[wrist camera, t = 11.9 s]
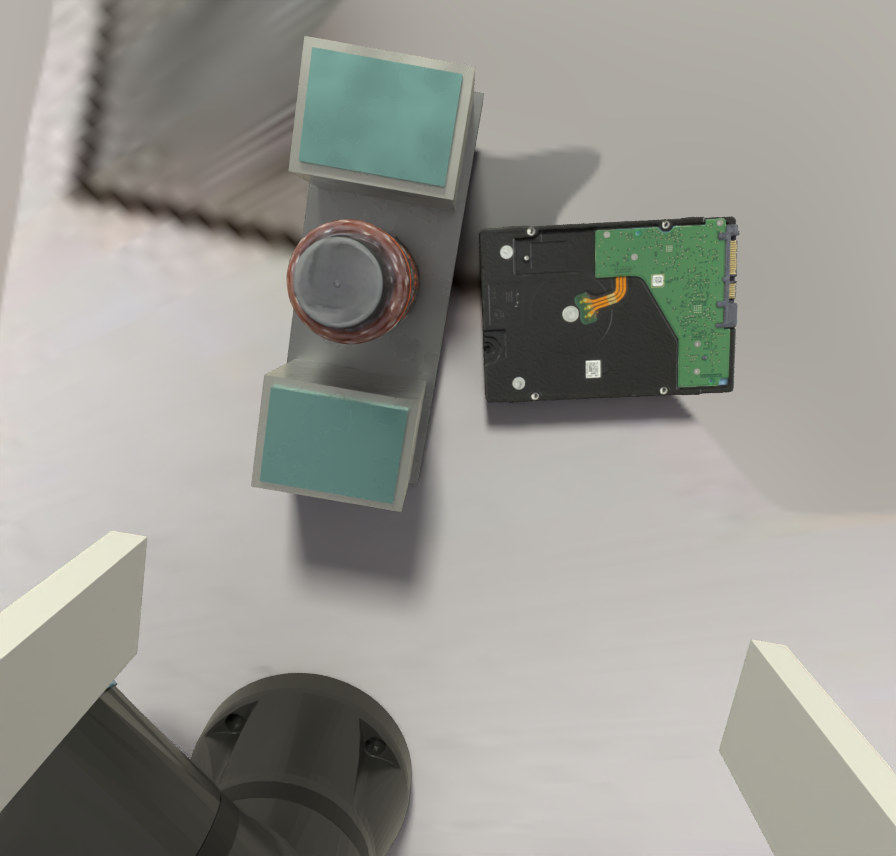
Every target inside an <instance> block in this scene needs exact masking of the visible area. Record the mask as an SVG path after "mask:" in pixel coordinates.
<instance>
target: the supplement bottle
mask: <svg viewBox="0 0 896 856" xmlns="http://www.w3.org/2000/svg"><path fill="white" fill-rule="evenodd" d="M419 285H420V276H419V271H418V267H417V265H416V262H415V260H414V258H413V256H412V255H411V253H410V251H409V250H408V249H407V247H406V246H405V245H404V244H403V243H402V242H401V241H400V240H399V239H398V237H397V236H396V237H394V236H392V235H391V234H389V233H388V232H386V231H384V230H382V229H381V228H379V227H377V226H375V225H372V224H370V223H367V222H364V221H360V220H352V219H339V220H335V221H331V222H327V223H325V224H323V225H320V226H319V227H317V228H315V229H313V230H312V231H310V232H309V233H308V234H307V235H306V236H305V237H304V238H303V239H302V240H301V241H300V242H299V244H298V245H297V247H296V248H295V250H294V251H293V254H292V256H291V259H290V262H289V265H288V271H287V289H288V294H289V299H290V302H291V304H292V306H293V309H294V311H295V312H296V314H297V315H298V317H299V318H300V320H301V321H302V322H303V323H304V324H305V325H306V326H307V327H308V328H309V329H310V330H311V331H313V332H314V333H316V334H317V335H319V336H320V337H322V338H324V339H327V340H329V341H332V342H336V343H341V344H361V343H365V342H368V341H371V340H374V339H376V338H378V337H380V336H382V335H383V334H385V333H387V332H388V331H390V330H391V329H393V328H394V327H396V326H397V325H398V324H400V323H401V322H402V321H403V320H404V319H405V318H406V317H407V316H408V315H409V314H410V312H411V310H412V309H413V307H414V305H415V303H416V300H417V297H418V292H419Z"/></svg>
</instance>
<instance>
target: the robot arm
mask: <svg viewBox="0 0 896 856" xmlns="http://www.w3.org/2000/svg"><path fill="white" fill-rule="evenodd" d="M146 547H147V537H146V536H140V535H134V534H129V533H123V532H117V531H111V532H109V533H108V534H106V535H105V536H104V537H102V538H101V539H100V540H98V541H97V542H96V543H94V544H93V545H92V546H90V547H89V548H87V549H86V550H85V551H83V552H82V553H81V554H79V555H78V556H77V557H75V558H74V559H72V560H71V561H70V562H68V563H67V564H66V565H64V566H63V567H62V568H60V569H59V570H57V571H56V572H55V573H53V574H52V575H51V576H49V577H48V578H47V579H45V580H44V581H42V582H41V583H40V584H38V585H37V586H36V587H34V588H33V589H32V590H30V591H29V592H28V593H26V594H25V595H23V596H22V597H21V598H19V599H18V600H17V601H15V602H14V603H13V604H11V605H10V606H8V607H7V608H6V609H4V610H3V611H2V612H0V856H386V854H387V852H388V850H389V849H390V847H391V845H392V844H393V842H394V840H395V839H396V837H397V835H398V833H399V831H400V829H401V827H402V824H403V822H404V819H405V815H406V812H407V808H408V803H409V794H410V785H411V761H410V755H409V751H408V748H407V744H406V742H405V739H404V737H403V735H402V733H401V731H400V729H399V727H398V726H397V724H396V723H395V721H394V720H393V718H392V717H391V716H390V715H389V713H388V712H387V711H386V710H385V709H384V708H383V707H382V706H381V705H380V704H379V703H378V702H377V701H375V700H374V699H373V698H372V697H370V696H369V695H367V694H366V693H365V692H363V691H361V690H360V689H358V688H356V687H354V686H352V685H350V684H348V683H345V682H343V681H340V680H337V679H335V678H331V677H327V676H322V675H317V674H308V673H289V674H280V675H275V676H270V677H267V678H263V679H260V680H258V681H255V682H253V683H250V684H248V685H246V686H245V687H243V688H241V689H239V690H238V691H236V692H235V693H234V694H232V695H231V696H230V697H228V698H227V699H226V700H225V701H224V702H223V703H222V704H221V705H220V706H219V707H218V709H217V710H216V711H215V712H214V714H213V715H212V717H211V718H210V720H209V722H208V723H207V725H206V727H205V729H204V731H203V732H202V734H201V736H200V738H199V740H198V741H197V744H196V746H195V748H194V751H193V754H192V757H191V760H190V759H189V758H188V757H187V756H186V755H185V754H184V753H183V752H181V751H180V750H179V749H178V748H177V747H176V746H175V745H174V744H173V743H172V742H171V741H170V740H169V739H168V738H167V737H166V736H165V735H164V734H163V733H162V732H161V731H160V730H159V729H158V728H157V727H156V726H155V725H154V724H153V723H152V722H151V721H150V720H148V719H147V718H146V717H145V716H144V715H143V714H142V713H141V712H140V711H139V710H138V709H137V708H136V707H135V706H134V705H133V704H132V703H131V702H130V701H129V700H128V699H127V698H126V696H125V695H124V694H123V693H122V692H121V691H120V690H119V689H118V688H117V687H116V685H117V683H116V682H115V680H114V679H115V678H116V677H117V676H118V674H119V673H120V672H121V671H122V670H123V669H124V668H125V666H126V665H127V664H128V663H129V662H130V661H131V659H132V658H133V657H134V656H135V655H136V654H137V649H138V638H139V626H140V615H141V604H142V592H143V581H144V570H145V558H146ZM719 751H720V753H721V755H722V757H723V759H724V761H725V763H726V765H727V767H728V768H729V770H730V772H731V774H732V776H733V778H734V780H735V782H736V784H737V785H738V787H739V789H740V791H741V793H742V795H743V797H744V799H745V801H746V802H747V804H748V806H749V808H750V810H751V812H752V814H753V816H754V818H755V819H756V821H757V823H758V825H759V827H760V829H761V831H762V833H763V835H764V836H765V838H766V840H767V842H768V844H769V846H770V848H771V850H772V852H773V854H774V855H775V856H896V774H895V773H894V771H893V770H892V769H891V768H890V767H889V766H888V764H887V763H886V762H885V761H884V760H883V759H882V757H881V756H880V755H879V754H878V753H877V752H876V750H875V749H874V748H873V747H872V746H871V745H870V743H869V742H868V741H867V740H866V739H865V738H864V736H863V735H862V734H861V733H860V732H859V731H858V729H857V728H856V727H855V726H854V725H853V724H852V722H851V721H850V720H849V719H848V718H847V717H846V715H845V714H844V713H843V712H842V711H841V709H840V708H839V707H838V706H837V705H836V704H835V702H834V701H833V700H832V699H831V698H830V697H829V695H828V694H827V693H826V692H825V691H824V690H823V688H822V687H821V686H820V685H819V684H818V683H817V681H816V680H815V679H814V678H813V677H812V676H811V674H810V673H809V672H808V671H807V670H806V669H805V667H804V666H803V665H802V664H801V663H800V662H799V660H798V659H797V658H796V657H795V656H794V655H793V653H792V652H791V651H790V650H789V649H788V648H787V646H786V645H781V644H775V643H769V642H763V641H757V640H751V641H750V644H749V648H748V651H747V655H746V658H745V662H744V665H743V668H742V672H741V675H740V679H739V682H738V686H737V689H736V693H735V696H734V700H733V703H732V707H731V710H730V714H729V717H728V721H727V724H726V728H725V731H724V735H723V738H722V742H721V745H720V749H719Z"/></svg>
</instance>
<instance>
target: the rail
mask: <svg viewBox="0 0 896 856" xmlns="http://www.w3.org/2000/svg"><path fill="white" fill-rule="evenodd" d="M474 81H475V67H474V66H468V65H462V64H457V63H452V62H446V61H440V60H435V59H429V58H423V57H418V56H413V55H407V54H402V53H396V52H390V51H385V50H380V49H374V48H368V47H363V46H357V45H352V44H346V43H340V42H335V41H330V40H324V39H318V38H313V37H307V36H305V37H304V45H303V54H302V62H301V71H300V79H299V88H298V96H297V104H296V113H295V121H294V130H293V138H292V147H291V155H290V163H289V171H290V172H292V173H293V174H295V175H297V176H299V177H300V178H302V179H304V180H306V181H307V182H309V190H308V198H307V206H306V214H305V222H304V230H303V238H304V237H305V236H306V235H307V234H308V233H309V232H310V231H312V230H313V229H315V228H317V227H319V226H320V225H323V224H325V223H327V222H331V221H335V220H339V219H352V220H360V221H364V222H367V223H370V224H372V225H375V226H377V227H379V228H381V229H382V230H384V231H386V232H388V233H389V234H391V235H392V236H394V237H396V236H397V237H398V239H399V240H400V241H401V242H402V243H403V244H404V245H405V246H406V247H407V249H408V250H409V251H410V253H411V255H412V256H413V258H414V260H415V262H416V265H417V267H418V271H419V276H420V285H419V292H418V297H417V300H416V303H415V305H414V307H413V309H412V310H411V312H410V314H409V315H408V316H407V317H406V318H405V319H404V320H403V321H402V322H401V323H400V324H398V325H397V326H396V327H394V328H393V329H391V330H390V331H388V332H387V333H385V334H383V335H382V336H380V337H378V338H376V339H374V340H371V341H368V342H365V343H361V344H341V343H336V342H332V341H329V340H327V339H324V338H322V337H320V336H319V335H317V334H316V333H314V332H313V331H311V330H310V329H309V328H308V327H307V326H306V325H305V324H304V323H303V322H302V321H301V320H300V318H299V317H298V315H297V314H296V312H295V311H294V310H293V318H292V326H291V334H290V342H289V350H288V358H287V363H286V364H284V365H282V366H281V367H279V368H277V369H275V370H273V371H271V372H269V373H267V374H265V375H264V383H263V391H262V399H261V408H260V416H259V425H258V433H257V442H256V450H255V458H254V467H253V475H252V484H251V486H252V487H258V488H264V489H269V490H275V491H281V492H287V493H293V494H299V495H304V496H310V497H316V498H322V499H328V500H334V501H339V502H345V503H351V504H357V505H363V506H369V507H374V508H380V509H386V510H392V511H398V512H401V511H402V507H403V503H404V499H405V496H406V492H407V488H408V484H409V483H411V484H418V480H419V475H420V469H421V463H422V457H423V451H424V445H425V439H426V434H427V428H428V422H429V416H430V410H431V404H432V398H433V392H434V387H435V381H436V375H437V369H438V363H439V357H440V351H441V345H442V339H443V334H444V328H445V322H446V316H447V310H448V304H449V298H450V292H451V287H452V281H453V275H454V269H455V263H456V257H457V251H458V245H459V240H460V234H461V228H462V222H463V216H464V210H465V204H466V198H467V193H468V187H469V181H470V175H471V169H472V163H473V157H474V151H475V145H476V139H477V133H478V128H479V122H480V116H481V110H482V104H483V97H484V93H479V92H474ZM303 238H302V239H303Z"/></svg>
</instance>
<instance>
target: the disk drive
mask: <svg viewBox="0 0 896 856" xmlns="http://www.w3.org/2000/svg"><path fill="white" fill-rule="evenodd" d="M736 235H739V231H738V225H736V219H735V218H734V217H714V218H704V217H688V218H681V219H667V220H666V219H664V220H648V221H624V222H606V223H590V224H584V223H583V224H567V225H547V226H510V227H503V228H493V229H491V228H490V229H482V230H481V231H480V234H479V237H480V265H481V291H482V296H481V297H482V320H483V350H484V370H485V395H486V400H487V401H488V402H509V403H513V402H528V401H534V400H535V401H538V400H564V399H588V398H607V397H610V398H611V397H630V396H637V397H638V396H658V395H699V394H702V393H723V392H731V391H733V387H734V362H735V361H734V360H735V333H736V330H735V328H734V327H735V326H736V324H737V303H734V299H735V297H736V281H735V277H736V276H737V240H736Z"/></svg>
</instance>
